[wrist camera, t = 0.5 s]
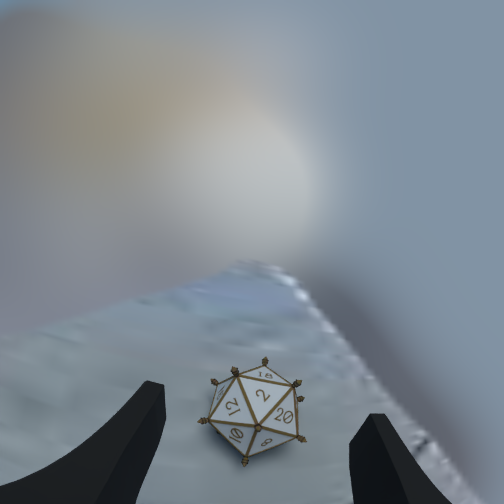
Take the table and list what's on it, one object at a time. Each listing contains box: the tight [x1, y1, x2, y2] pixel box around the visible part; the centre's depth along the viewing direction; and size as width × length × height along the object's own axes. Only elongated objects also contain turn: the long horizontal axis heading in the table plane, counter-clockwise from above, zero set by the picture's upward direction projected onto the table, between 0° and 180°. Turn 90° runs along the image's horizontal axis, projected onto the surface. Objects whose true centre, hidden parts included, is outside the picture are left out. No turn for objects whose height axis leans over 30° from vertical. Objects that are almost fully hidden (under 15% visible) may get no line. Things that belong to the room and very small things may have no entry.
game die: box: [197, 357, 307, 467], centre depth 23 cm, size 9×8×10 cm
